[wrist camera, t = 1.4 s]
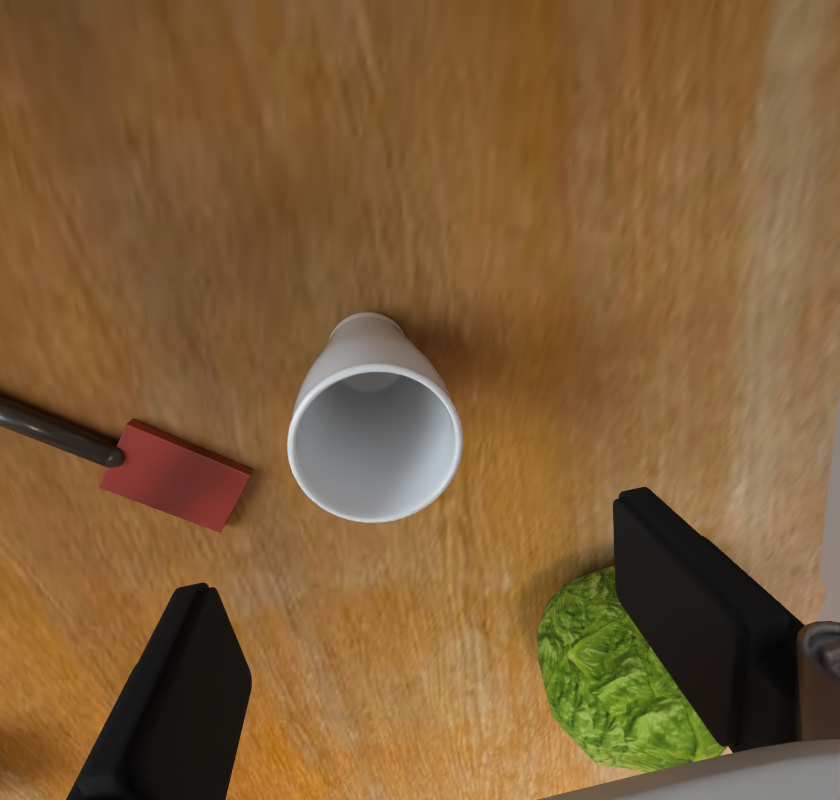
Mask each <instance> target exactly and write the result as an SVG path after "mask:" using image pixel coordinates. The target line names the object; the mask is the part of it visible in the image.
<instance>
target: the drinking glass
mask: <svg viewBox="0 0 840 800" xmlns="http://www.w3.org/2000/svg"><path fill="white" fill-rule="evenodd" d="M287 451H288V458H289V463H290V467H291V469H292V472H293V475H294V477H295V479H296V481H297V482H298V484H299V485H300V487H301V488H302V490H303V491H304V492H305V493H306V495H307V496H308V497H309V498H310V499H311V500H312V501H314V502H315V503H316V504H317V505H319V506H320V507H321V508H323V509H324V510H326V511H328V512H330V513H332V514H334V515H336V516H338V517H341V518H344V519H348V520H352V521H357V522H364V523H381V522H389V521H394V520H398V519H402V518H405V517H408V516H410V515H412V514H414V513H417V512H418V511H420V510H422V509H424V508H425V507H427V506H428V505H430V504H431V503H432V502H433V501H435V500H436V499H437V498H438V497H439V496H440V495H441V494H442V493H443V492H444V490H445V489H446V488H447V487H448V485H449V484H450V483H451V481H452V479H453V477H454V476H455V474H456V471H457V469H458V467H459V464H460V461H461V456H462V451H463V431H462V425H461V421H460V418H459V415H458V413H457V410H456V408H455V405H454V403H453V400H452V398H451V396H450V393H449V391H448V389H447V387H446V385H445V383H444V382H443V380H442V378H441V377H440V375H439V373H438V372H437V370H436V369H435V368H434V366H433V365H432V364H431V362H430V361H429V360H428V359H427V358H426V357H425V356H424V354H423V353H422V352H421V351H420V350H419V349H418V348H417V347H416V346H415V345H414V344H413V343H412V342H411V341H410V340H409V339H408V338H407V337H406V336H405V334H404V332H403V331H402V329H401V328H400V327H399V326H398V325H397V324H396V323H395V322H394V321H393V320H391V319H390V318H388V317H386V316H384V315H381V314H378V313H373V312H362V313H357V314H354V315H351V316H349V317H347V318H345V319H344V320H343V321H341V322H340V323H339V324H338V325H337V326H336V327H335V329H334V330H333V332H332V333H331V335H330V337H329V340H328V343H327V344H326V346H325V347H324V349H323V350H322V352H321V353H320V354H319V356H318V357H317V359H316V360H315V362H314V363H313V365H312V366H311V368H310V369H309V371H308V373H307V375H306V376H305V378H304V381H303V383H302V385H301V387H300V390H299V392H298V395H297V398H296V402H295V405H294V408H293V413H292V417H291V422H290V427H289V432H288V440H287Z"/></svg>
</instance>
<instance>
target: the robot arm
mask: <svg viewBox="0 0 840 800" xmlns="http://www.w3.org/2000/svg"><path fill="white" fill-rule="evenodd" d="M613 523H614V561H615V590H616V594H617V597H618V600H619V602H620V604H621V605H622V607H623V608H624V610H625V611H626V613H627V614H628V615H629V617H630V618H631V620H632V621H633V623H634V624H635V626H636V627H637V628H638V630H639V631H640V633H641V634H642V636H643V637H644V639H645V640H646V641H647V643H648V644H649V646H650V647H651V649H652V650H653V651H654V653H655V654H656V656H657V657H658V659H659V660H660V662H661V663H662V664H663V666H664V667H665V669H666V670H667V672H668V673H669V675H670V676H671V677H672V679H673V680H674V682H675V683H676V685H677V686H678V687H679V689H680V690H681V692H682V693H683V695H684V696H685V698H686V699H687V700H688V702H689V703H690V705H691V706H692V708H693V709H694V711H695V712H696V713H697V715H698V716H699V718H700V719H701V721H702V722H703V724H704V725H705V726H706V728H707V729H708V731H709V732H710V734H711V735H712V736H713V738H714V739H715V740H716V742H717V743H718V744H719V745H720V746H722V747H726V746H728V747H729V748H730V749H731V751H732V752H733V753H732V754H727V755H723V756H718V757H714V758H709V759H705V760H700V761H696V762H691V763H687V764H682V765H678V766H674V767H669V768H665V769H661V770H657V771H653V772H649V773H645V774H641V775H637V776H633V777H628V778H624V779H620V780H616V781H612V782H608V783H604V784H600V785H596V786H592V787H587V788H583V789H579V790H575V791H571V792H567V793H563V794H559V795H555V796H551V797H546V798H542V799H538V800H840V623H837V622H832V621H821V622H813V623H810V624H807V625H804V624H803V623H802V622H800V621H799V620H798V619H797V618H796V617H795V616H794V615H793V614H791V613H790V612H789V611H788V610H787V609H786V608H785V607H784V606H782V605H781V604H780V603H779V602H778V601H777V600H776V599H775V598H774V597H772V596H771V595H770V594H769V593H768V592H767V591H766V590H765V589H763V588H762V587H761V586H760V585H759V584H758V583H757V582H756V581H754V580H753V579H752V578H751V577H750V576H749V575H748V574H747V573H746V572H744V571H743V570H742V569H741V568H740V567H739V566H738V565H737V564H735V563H734V562H733V561H732V560H731V559H730V558H729V557H728V556H726V555H725V554H724V553H723V552H722V551H721V550H720V549H719V548H717V547H716V546H715V545H714V544H713V543H712V542H711V541H710V540H708V539H707V538H705V537H704V536H701V535H700V534H699V533H698V532H696V531H695V530H694V529H693V528H692V527H691V526H690V525H689V524H688V523H686V522H685V521H684V520H683V519H682V518H681V517H680V516H679V515H678V514H676V513H675V512H674V511H673V510H672V509H671V508H670V507H669V506H668V505H666V504H665V503H664V502H663V501H662V500H661V499H660V498H659V497H658V496H656V495H655V494H654V493H653V492H652V491H651V490H650V489H648V488H647V487H641V488H636V489H632V490H627V491H623V492H621V493H620V495H619V499H616V500H614V502H613ZM251 687H252V678H251V673H250V670H249V667H248V665H247V662H246V660H245V657H244V655H243V652H242V650H241V647H240V645H239V643H238V640H237V638H236V635H235V633H234V630H233V628H232V625H231V623H230V621H229V618H228V616H227V613H226V611H225V608H224V606H223V603H222V601H221V598H220V596H219V594H218V591H217V590H216V588H215V587H211V588H209V587H208V585H207V584H206V583H199V584H194V585H189V586H185V587H180V588H178V589H176V590H175V592H174V593H173V595H172V597H171V599H170V601H169V603H168V605H167V607H166V609H165V611H164V613H163V615H162V617H161V619H160V621H159V622H158V624H157V626H156V628H155V630H154V632H153V634H152V636H151V638H150V640H149V642H148V644H147V646H146V648H145V650H144V652H143V654H142V656H141V658H140V660H139V662H138V663H137V665H136V666H135V668H134V669H133V671H132V672H131V674H130V676H129V678H128V680H127V682H126V684H125V686H124V688H123V690H122V692H121V694H120V696H119V698H118V700H117V702H116V704H115V705H114V707H113V709H112V711H111V713H110V715H109V717H108V719H107V721H106V723H105V725H104V727H103V729H102V731H101V733H100V735H99V737H98V739H97V741H96V742H95V744H94V746H93V748H92V750H91V752H90V754H89V756H88V758H87V760H86V762H85V764H84V766H83V768H82V770H81V772H80V774H79V776H78V778H77V779H76V781H75V783H74V785H73V787H72V789H71V791H70V793H69V795H68V797H67V799H66V800H225V799H226V795H227V790H228V786H229V782H230V778H231V773H232V769H233V765H234V761H235V756H236V752H237V748H238V744H239V739H240V735H241V731H242V727H243V722H244V718H245V714H246V710H247V705H248V701H249V697H250V693H251Z"/></svg>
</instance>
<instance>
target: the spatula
mask: <svg viewBox="0 0 840 800" xmlns="http://www.w3.org/2000/svg"><path fill="white" fill-rule="evenodd" d="M0 426H2V427H5V428H7V429H10V430H12V431H15V432H17V433H20V434H23V435H25V436H28V437H30V438H33V439H36V440H38V441H41V442H43V443H46V444H48V445H51V446H54V447H56V448H59V449H61V450H64V451H66V452H69V453H72V454H74V455H77V456H79V457H82V458H85V459H87V460H90V461H92V462H95V463H97V464H100V465H103V466H105V467H107V470H106V472H105V474H104V476H103V479H102V481H101V483H100V485H99V487H100V488H102V489H105V490H108V491H110V492H113V493H116V494H118V495H121V496H124V497H126V498H129V499H132V500H134V501H137V502H140V503H143V504H145V505H148V506H151V507H153V508H156V509H159V510H161V511H164V512H167V513H169V514H172V515H175V516H177V517H180V518H183V519H185V520H188V521H191V522H193V523H196V524H199V525H201V526H204V527H207V528H209V529H212V530H215V531H217V532H221V531H222V529H223V527H224V525H225V523H226V522H227V520H228V518H229V516H230V514H231V512H232V510H233V509H234V507H235V505H236V503H237V501H238V499H239V497H240V495H241V494H242V492H243V490H244V488H245V486H246V484H247V482H248V480H249V479H250V477H251V474H252V472H253V469H250V468H248V467H246V466H243V465H241V464H238V463H236V462H234V461H231V460H229V459H227V458H224V457H222V456H219V455H217V454H215V453H212V452H210V451H208V450H205V449H203V448H200V447H198V446H196V445H193V444H191V443H189V442H186V441H184V440H181V439H179V438H177V437H174V436H172V435H170V434H167V433H165V432H162V431H160V430H158V429H155V428H153V427H151V426H148V425H146V424H144V423H141V422H139V421H136V420H134V419H132V420H131V421H130V422H128V423H127V424H126V426H125V429H124V431H123V433H122V435H121V438H120V440H119V442H118V444H117V443H115V442H112V441H110V440H107V439H105V438H102V437H100V436H97V435H95V434H92V433H90V432H87V431H85V430H82V429H80V428H77V427H75V426H73V425H70V424H68V423H65V422H63V421H60V420H58V419H55V418H53V417H50V416H48V415H45V414H43V413H40V412H38V411H35V410H33V409H30V408H28V407H25V406H23V405H20V404H18V403H16V402H13V401H11V400H8V399H6V398H3V397H1V396H0Z"/></svg>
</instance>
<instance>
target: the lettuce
mask: <svg viewBox="0 0 840 800" xmlns="http://www.w3.org/2000/svg"><path fill="white" fill-rule="evenodd" d="M537 638H538V658H539V665H540V669H541V673H542V677H543V681H544V685H545V689H546V693H547V697H548V702H549V706H550V710H551V714H552V716H553V717H554V719H555V720H556V721H557V722H558V724H559V725H560V726H561V727H562V729H563V730H564V731H565V732H566V733H567V734H568V735H569V736H570V737H571V738H572V739H573V740H574V741H575V743H576V744H577V745H578V746H579V747H580V748H581V749H582V750H583V751H584V752H585V753H586V754H587V755H588V756H589V757H590V758H591V759H592V760H593V761H594V762H595V763H596V764H597V765H603V766H612V767H622V768H629V769H634V770H638V771H642V772H647V773H649V772H653V771H657V770H661V769H665V768H669V767H674V766H678V765H682V764H687V763H691V762H696V761H700V760H705V759H709V758H714V757H718V756H720V755H721V754H722V753H723V752H724V750H725V749H726V748H727V747H728V746H726V747H722V746H720V745H719V744H718V743H717V742H716V740H715V739H714V738H713V736H712V735H711V734H710V732H709V731H708V729H707V728H706V726H705V725H704V724H703V722H702V721H701V719H700V718H699V716H698V715H697V713H696V712H695V711H694V709H693V708H692V706H691V705H690V703H689V702H688V700H687V699H686V698H685V696H684V695H683V693H682V692H681V690H680V689H679V687H678V686H677V685H676V683H675V682H674V680H673V679H672V677H671V676H670V675H669V673H668V672H667V670H666V669H665V667H664V666H663V664H662V663H661V662H660V660H659V659H658V657H657V656H656V654H655V653H654V651H653V650H652V649H651V647H650V646H649V644H648V643H647V641H646V640H645V639H644V637H643V636H642V634H641V633H640V631H639V630H638V628H637V627H636V626H635V624H634V623H633V621H632V620H631V618H630V617H629V615H628V614H627V613H626V611H625V610H624V608H623V607H622V605H621V604H620V602H619V600H618V597H617V594H616V590H615V565H614V566H611V567H607V568H604V569H600V570H597V571H594V572H592V573H589V574H586V575H584V576H581V577H578V578H576V579H573V580H572V581H571V582H569V583H568V584H567V585H565V586H564V587H563V588H562V589H561V590H559V591H558V592H557V593H556V594H555V595H554V596H553V597H552V598H551V600H550V601H549V602H548V603H547V606H546V609H545V611H544V614H543V617H542V619H541V622H540V625H539V627H538V630H537Z"/></svg>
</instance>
